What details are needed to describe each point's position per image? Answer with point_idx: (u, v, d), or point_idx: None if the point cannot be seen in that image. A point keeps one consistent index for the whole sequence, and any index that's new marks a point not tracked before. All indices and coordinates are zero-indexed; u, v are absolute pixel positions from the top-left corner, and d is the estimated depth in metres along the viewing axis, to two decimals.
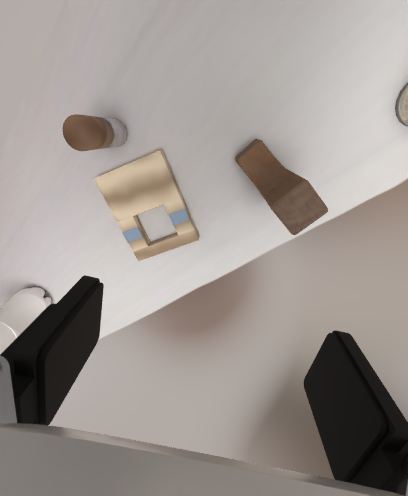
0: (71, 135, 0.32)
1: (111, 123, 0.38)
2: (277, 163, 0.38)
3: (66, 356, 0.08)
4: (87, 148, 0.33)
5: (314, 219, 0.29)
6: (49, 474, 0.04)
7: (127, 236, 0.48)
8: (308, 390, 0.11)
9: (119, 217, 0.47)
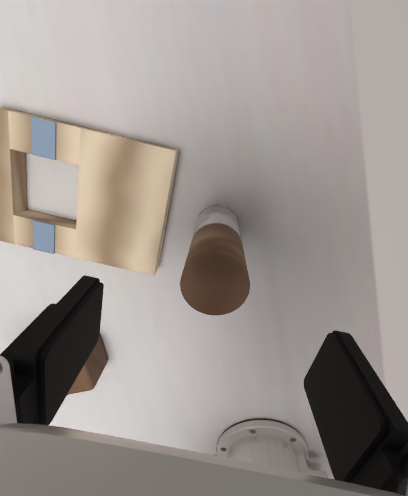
0: (221, 271, 0.15)
1: None
2: None
3: (66, 356, 0.08)
4: (183, 279, 0.16)
5: None
6: (49, 474, 0.04)
7: (43, 125, 0.22)
8: (308, 390, 0.11)
9: (87, 139, 0.22)
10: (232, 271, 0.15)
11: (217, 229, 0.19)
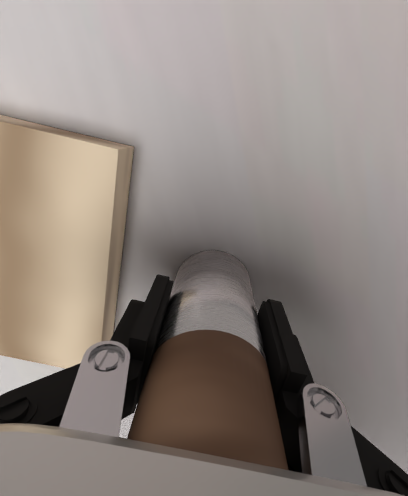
0: None
1: None
2: None
3: None
4: None
5: None
6: (49, 474, 0.04)
7: None
8: None
9: None
10: None
11: (208, 370, 0.07)
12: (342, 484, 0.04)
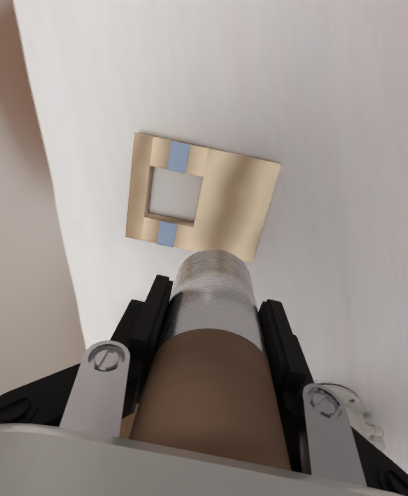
0: None
1: None
2: None
3: None
4: None
5: None
6: (49, 474, 0.04)
7: (180, 147, 0.29)
8: None
9: (213, 157, 0.29)
10: None
11: (210, 369, 0.07)
12: (342, 484, 0.04)
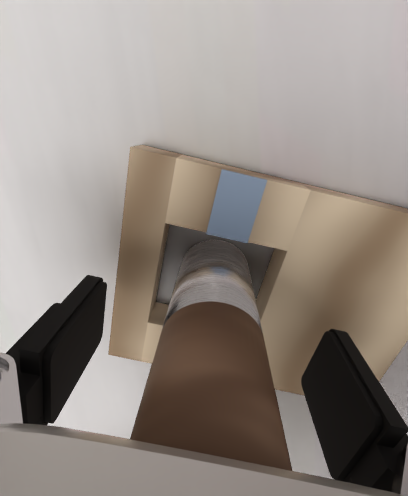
0: None
1: None
2: None
3: (70, 355, 0.08)
4: None
5: None
6: (49, 474, 0.04)
7: (243, 186, 0.12)
8: (305, 388, 0.11)
9: (318, 209, 0.12)
10: None
11: (212, 330, 0.08)
12: (342, 484, 0.04)
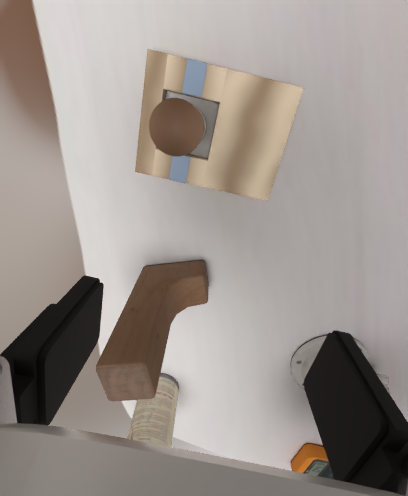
0: (179, 113, 0.20)
1: None
2: (177, 312, 0.35)
3: (66, 356, 0.08)
4: (151, 122, 0.20)
5: (106, 390, 0.24)
6: (49, 474, 0.04)
7: (197, 66, 0.27)
8: (308, 390, 0.11)
9: (231, 78, 0.27)
10: (188, 113, 0.20)
11: None
12: (342, 484, 0.04)
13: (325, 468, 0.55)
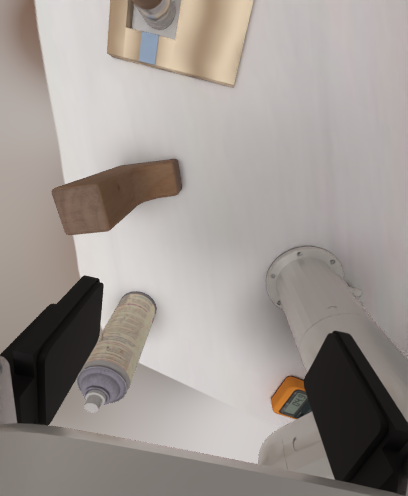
0: None
1: (150, 11, 0.29)
2: (147, 199, 0.36)
3: (66, 356, 0.08)
4: None
5: (62, 218, 0.25)
6: (49, 474, 0.04)
7: None
8: (308, 390, 0.11)
9: None
10: None
11: None
12: (342, 484, 0.04)
13: (305, 401, 0.54)
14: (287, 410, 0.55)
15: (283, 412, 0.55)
